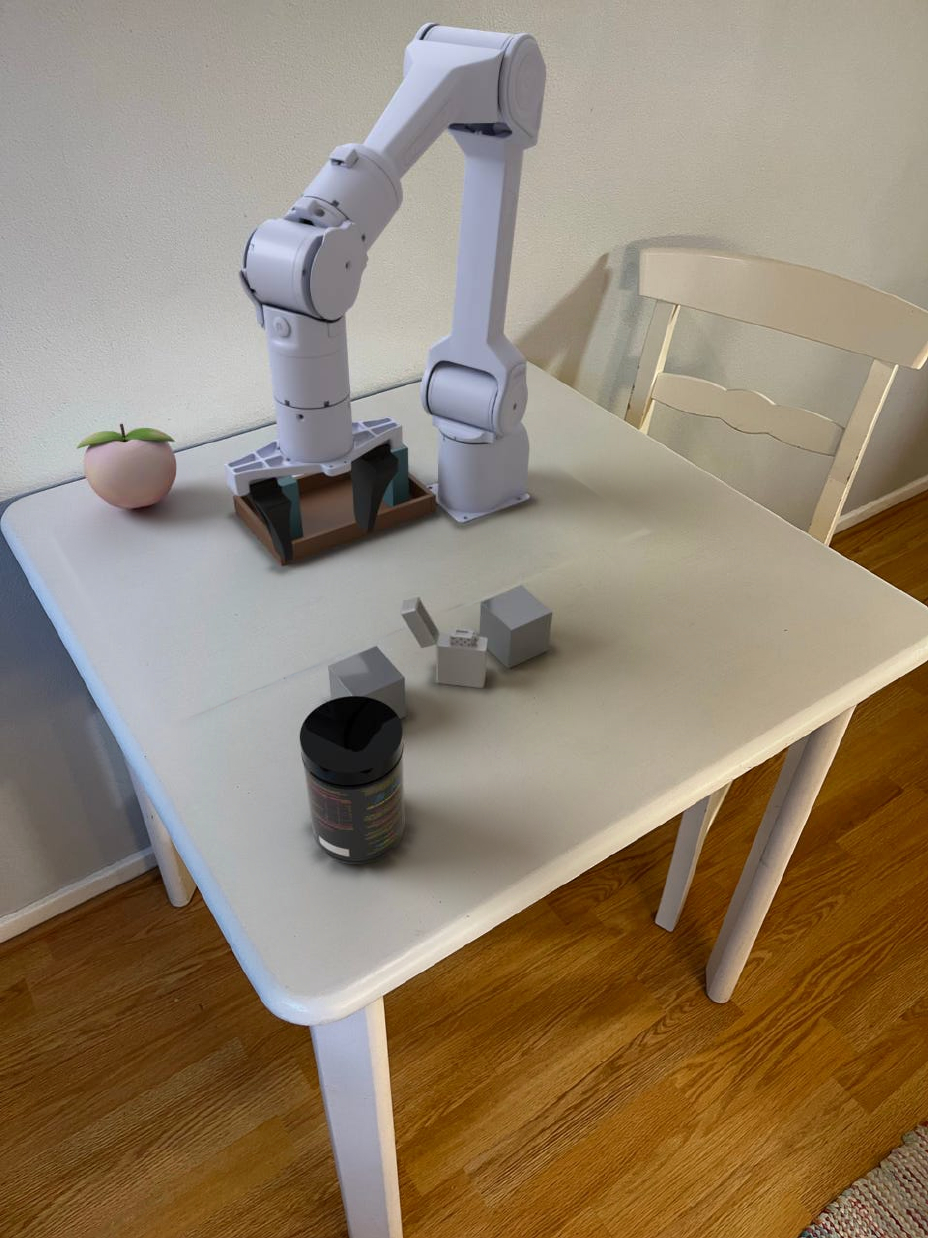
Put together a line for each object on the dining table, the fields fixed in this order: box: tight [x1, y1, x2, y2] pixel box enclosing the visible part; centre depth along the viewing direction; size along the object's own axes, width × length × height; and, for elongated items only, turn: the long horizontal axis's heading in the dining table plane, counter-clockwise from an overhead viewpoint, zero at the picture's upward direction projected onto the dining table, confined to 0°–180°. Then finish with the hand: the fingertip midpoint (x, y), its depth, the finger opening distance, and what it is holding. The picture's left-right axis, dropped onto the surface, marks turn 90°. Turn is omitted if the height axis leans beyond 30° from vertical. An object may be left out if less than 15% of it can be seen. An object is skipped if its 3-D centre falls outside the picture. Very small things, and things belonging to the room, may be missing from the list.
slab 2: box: [382, 443, 409, 507], centre depth 96 cm, size 2×6×7 cm, turn 34°
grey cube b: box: [327, 645, 407, 720], centre depth 73 cm, size 4×4×4 cm
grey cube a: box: [478, 585, 553, 669], centre depth 80 cm, size 4×4×4 cm
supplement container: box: [299, 696, 406, 865], centre depth 62 cm, size 7×7×10 cm
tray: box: [232, 471, 437, 567], centre depth 95 cm, size 18×11×2 cm, turn 124°
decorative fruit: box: [76, 423, 177, 510], centre depth 93 cm, size 9×8×10 cm
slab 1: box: [278, 475, 303, 541], centre depth 91 cm, size 2×6×7 cm, turn 34°
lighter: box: [400, 596, 488, 689], centre depth 75 cm, size 7×2×8 cm, turn 82°
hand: (325, 540), depth 76 cm, fingers open, 7 cm apart
